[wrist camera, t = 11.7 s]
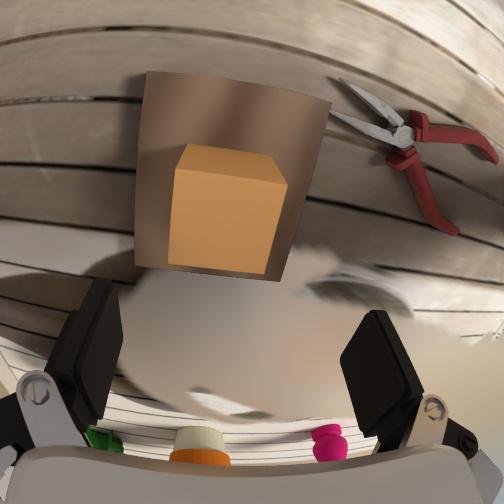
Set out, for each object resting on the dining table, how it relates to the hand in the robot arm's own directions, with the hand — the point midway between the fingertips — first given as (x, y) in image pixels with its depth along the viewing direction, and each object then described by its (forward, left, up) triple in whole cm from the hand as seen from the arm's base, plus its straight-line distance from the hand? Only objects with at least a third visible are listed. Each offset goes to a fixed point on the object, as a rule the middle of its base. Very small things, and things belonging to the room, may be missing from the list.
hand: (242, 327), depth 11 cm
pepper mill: (-27, +48, -16) cm, 58 cm away
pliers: (-17, -8, -16) cm, 25 cm away
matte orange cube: (+1, 0, -14) cm, 14 cm away
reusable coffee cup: (-1, +49, -16) cm, 52 cm away
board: (+1, 0, -16) cm, 16 cm away
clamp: (+20, +55, -16) cm, 61 cm away
